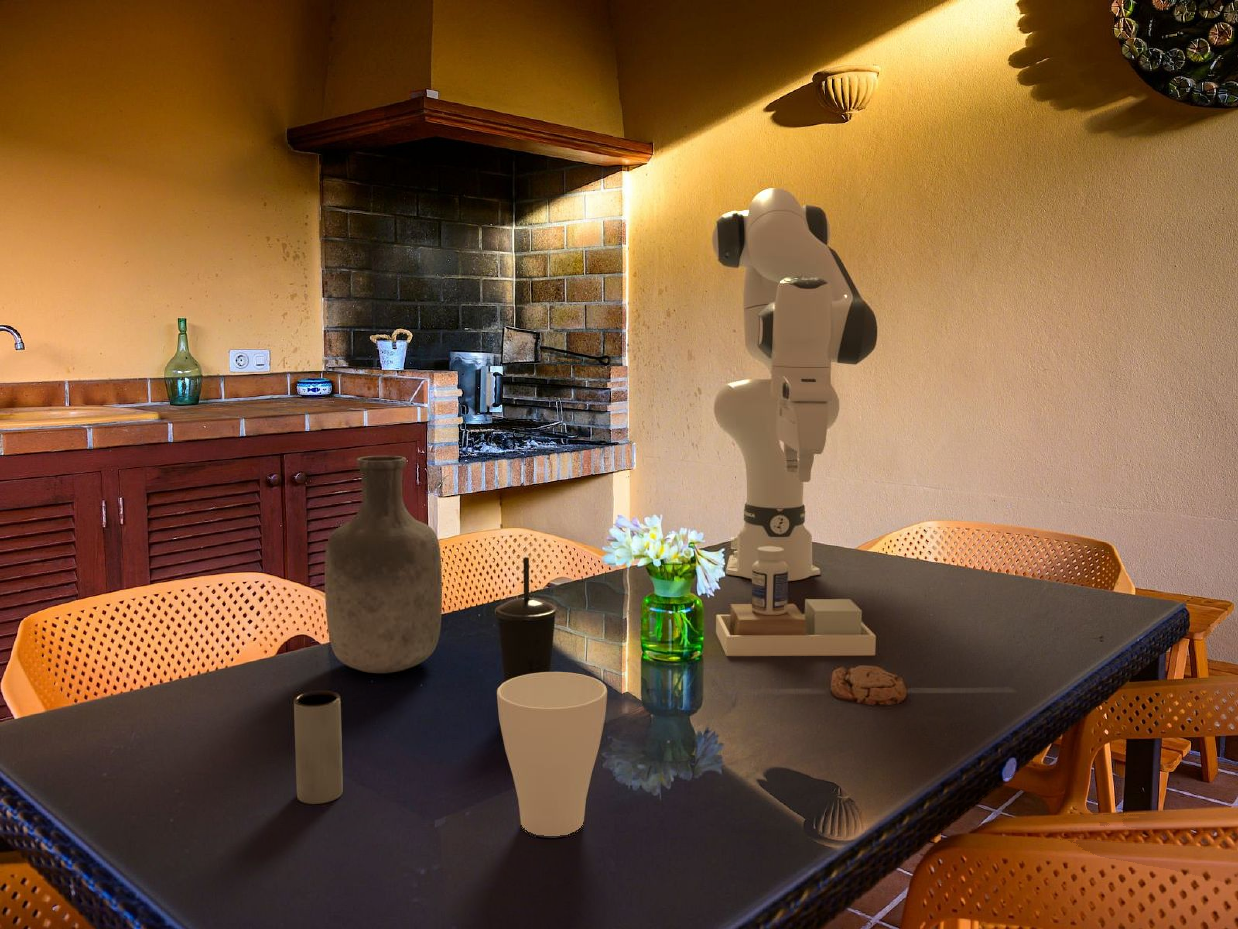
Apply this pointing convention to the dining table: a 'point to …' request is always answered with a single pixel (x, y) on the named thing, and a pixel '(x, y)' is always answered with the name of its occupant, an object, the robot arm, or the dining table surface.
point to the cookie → (868, 685)
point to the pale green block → (832, 617)
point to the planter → (318, 747)
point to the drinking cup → (526, 633)
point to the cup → (552, 745)
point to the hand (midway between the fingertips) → (797, 476)
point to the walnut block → (766, 621)
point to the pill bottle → (769, 582)
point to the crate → (794, 643)
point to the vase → (383, 578)
